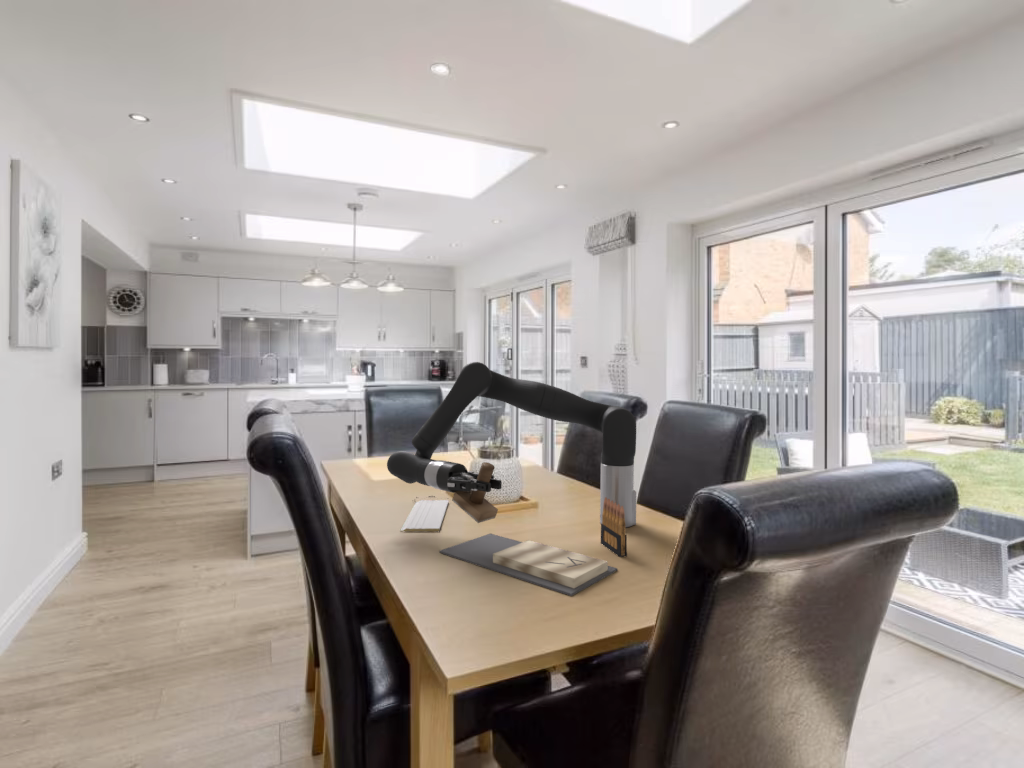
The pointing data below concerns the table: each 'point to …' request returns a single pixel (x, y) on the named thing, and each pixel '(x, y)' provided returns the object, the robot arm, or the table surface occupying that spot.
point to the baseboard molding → (426, 515)
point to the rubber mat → (482, 555)
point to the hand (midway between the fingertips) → (495, 486)
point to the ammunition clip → (614, 528)
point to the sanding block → (477, 498)
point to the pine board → (551, 563)
